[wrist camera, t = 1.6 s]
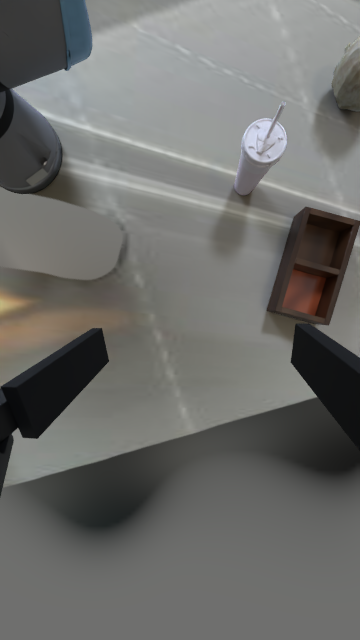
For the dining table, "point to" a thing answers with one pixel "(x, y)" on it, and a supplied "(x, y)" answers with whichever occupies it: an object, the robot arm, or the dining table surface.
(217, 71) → the dining table surface
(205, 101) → the dining table surface
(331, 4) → the dining table surface
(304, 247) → the tray
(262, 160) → the smoothie
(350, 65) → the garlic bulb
